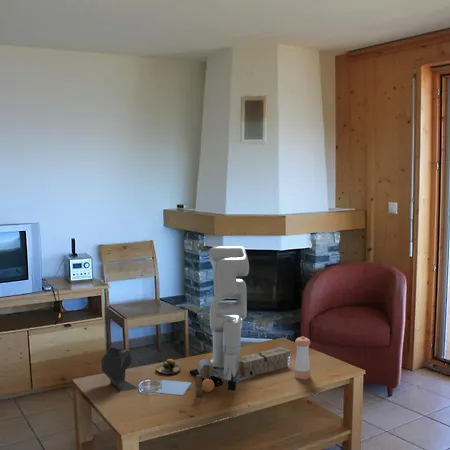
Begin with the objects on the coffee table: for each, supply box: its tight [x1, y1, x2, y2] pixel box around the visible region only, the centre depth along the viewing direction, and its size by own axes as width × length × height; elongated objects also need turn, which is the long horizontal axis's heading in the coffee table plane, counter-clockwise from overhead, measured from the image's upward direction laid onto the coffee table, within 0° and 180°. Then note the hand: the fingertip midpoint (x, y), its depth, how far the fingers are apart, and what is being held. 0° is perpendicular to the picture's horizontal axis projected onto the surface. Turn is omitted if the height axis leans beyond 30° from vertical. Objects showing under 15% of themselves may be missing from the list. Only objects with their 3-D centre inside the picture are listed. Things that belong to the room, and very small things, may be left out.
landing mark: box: [153, 379, 192, 396], centre depth 248 cm, size 14×14×1 cm
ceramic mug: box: [196, 358, 221, 379], centre depth 261 cm, size 10×8×7 cm
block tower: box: [236, 346, 291, 379], centre depth 270 cm, size 8×8×29 cm
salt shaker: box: [293, 335, 311, 380], centre depth 260 cm, size 7×7×19 cm
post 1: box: [195, 374, 203, 398], centre depth 238 cm, size 3×3×9 cm
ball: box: [202, 378, 215, 393], centre depth 244 cm, size 6×6×6 cm
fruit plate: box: [155, 358, 182, 376], centre depth 268 cm, size 12×12×8 cm
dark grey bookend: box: [100, 346, 139, 392], centre depth 250 cm, size 14×15×18 cm
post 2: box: [203, 365, 209, 381], centre depth 251 cm, size 3×3×9 cm
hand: (231, 389), depth 242 cm, fingers closed
